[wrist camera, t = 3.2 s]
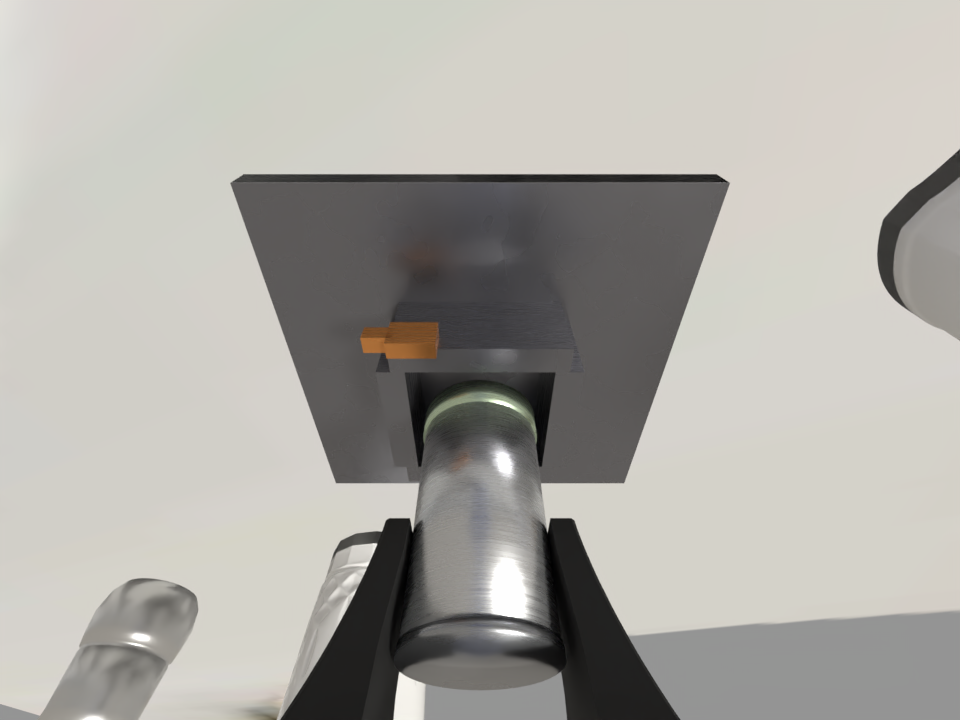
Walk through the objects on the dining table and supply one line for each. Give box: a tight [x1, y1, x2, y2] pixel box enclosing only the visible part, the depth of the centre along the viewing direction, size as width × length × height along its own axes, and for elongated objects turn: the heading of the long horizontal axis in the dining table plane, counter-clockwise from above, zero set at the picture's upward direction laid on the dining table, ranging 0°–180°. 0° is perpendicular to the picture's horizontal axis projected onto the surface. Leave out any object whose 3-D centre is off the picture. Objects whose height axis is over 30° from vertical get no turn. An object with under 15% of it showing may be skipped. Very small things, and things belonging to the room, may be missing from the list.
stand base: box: [230, 174, 730, 483], centre depth 18 cm, size 16×16×4 cm
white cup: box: [277, 531, 426, 720], centre depth 27 cm, size 8×8×10 cm
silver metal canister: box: [394, 380, 566, 690], centre depth 13 cm, size 4×4×8 cm
